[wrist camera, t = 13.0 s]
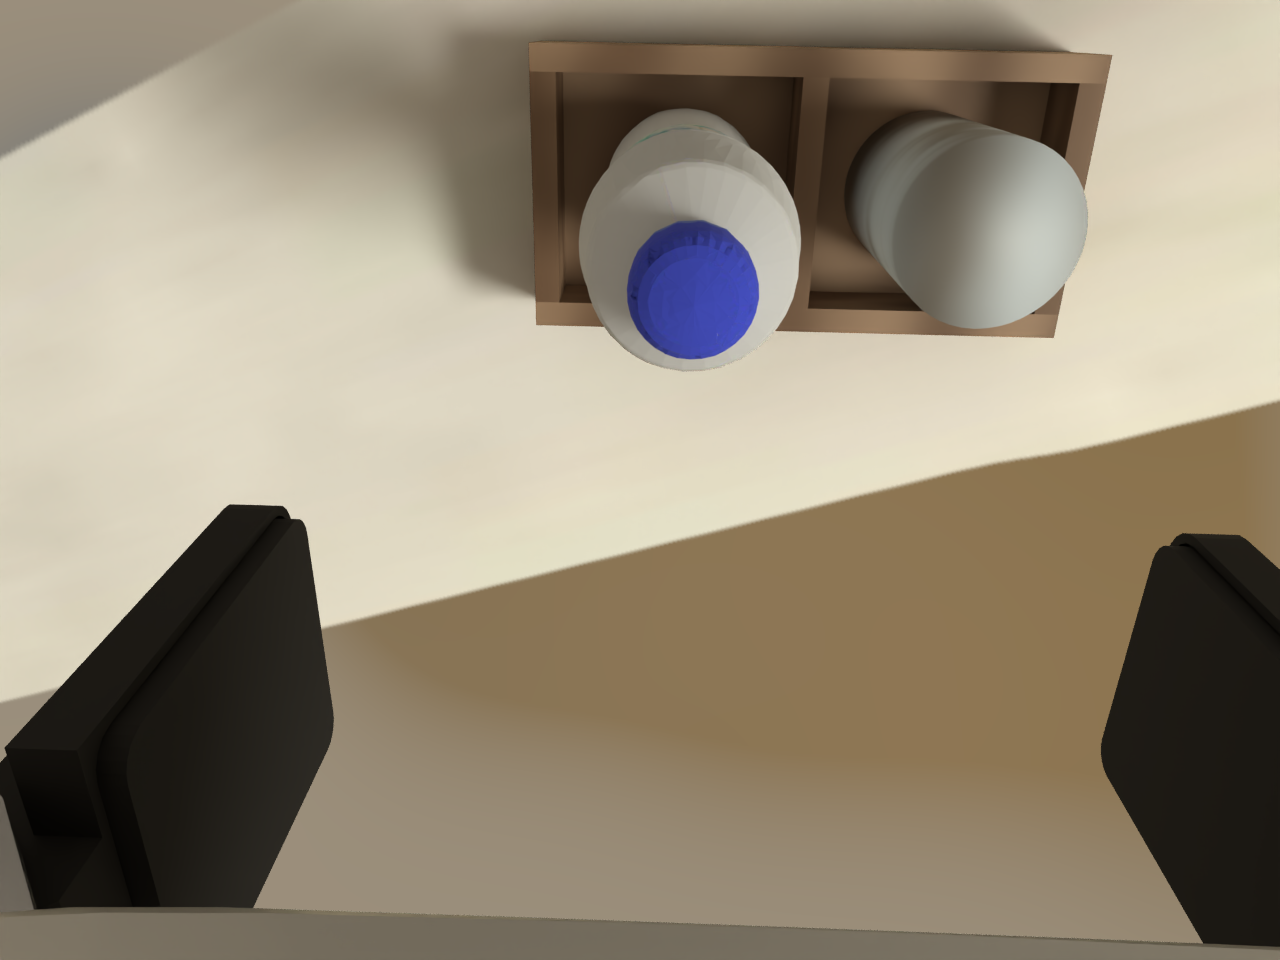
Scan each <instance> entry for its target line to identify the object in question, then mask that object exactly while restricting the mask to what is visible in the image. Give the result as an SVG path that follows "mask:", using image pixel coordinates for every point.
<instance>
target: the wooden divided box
mask: <svg viewBox="0 0 1280 960" xmlns="http://www.w3.org/2000/svg"><path fill="white" fill-rule="evenodd" d="M1111 59H1112V55H1104V54H1090V53H1075V52H1036V51H988V50H941V49H893V48H846V47H799V46H751V45H704V44H656V43H609V42H562V41H538V42H530V43H529V77H530V113H531V149H532V186H533V222H534V258H535V295H536V325H558V326H598V327H604V326H603V324H602V323H601V321H600V320H599V318H598V316H597V314H596V312H595V310H594V308H593V305H592V302H591V299H590V296H589V292H588V288H587V285H586V283H585V280H584V276H583V272H582V269H581V264H580V257H579V233H580V226H581V221H582V216H583V213H584V210H585V207H586V204H587V201H588V199H589V197H590V195H591V193H592V190H593V189H594V187H595V186H596V184H597V183H598V181H599V180H600V178H601V177H602V175H603V174H604V173H605V172H606V171H607V170H608V168H609V165H610V162H611V160H612V157H613V155H614V153H615V151H616V149H617V147H618V146H619V144H620V143H621V141H622V139H623V138H624V137H625V136H626V135H627V134H628V133H629V132H630V131H631V130H632V129H633V128H634V127H635V126H637V125H638V124H639V123H640V122H642V121H643V120H645V119H646V118H648V117H649V116H651V115H653V114H655V113H657V112H661V111H665V110H670V109H682V108H689V109H696V110H702V111H706V112H709V113H712V114H715V115H718V116H719V117H721V118H722V119H723V120H725V121H726V122H728V123H729V124H730V125H732V126H733V127H735V129H736V130H737V131H738V132H739V133H740V134H741V135H742V136H743V137H744V138H745V140H746V141H747V143H748V145H749V146H750V148H751V149H752V150H754V151H755V152H757V153H758V154H759V155H760V156H762V157H763V158H764V159H765V160H766V161H767V162H768V163H769V164H770V165H771V166H772V167H773V168H774V169H775V171H776V172H777V173H778V174H779V176H780V177H781V179H782V180H783V182H784V183H785V185H786V187H787V189H788V191H789V193H790V195H791V197H792V199H793V201H794V204H795V207H796V211H797V214H798V219H799V224H800V234H801V250H800V257H799V272H798V280H797V284H796V288H795V293H794V297H793V300H792V302H791V304H790V307H789V309H788V311H787V313H786V315H785V317H784V318H783V320H782V321H781V323H780V325H779V326H778V328H777V329H776V330H775V331H799V332H839V333H879V334H919V335H959V336H999V337H1039V338H1054V334H1055V329H1056V324H1057V319H1058V314H1059V310H1060V305H1061V300H1062V295H1063V290H1064V285H1065V282H1066V281H1067V279H1068V278H1069V277H1070V275H1071V274H1072V272H1073V270H1074V268H1075V266H1076V265H1077V263H1078V260H1079V258H1080V255H1081V253H1082V250H1083V247H1084V243H1085V240H1086V234H1087V227H1088V210H1087V202H1086V198H1085V194H1084V189H1085V184H1086V179H1087V175H1088V170H1089V165H1090V160H1091V155H1092V151H1093V146H1094V141H1095V136H1096V131H1097V126H1098V122H1099V117H1100V112H1101V107H1102V102H1103V98H1104V93H1105V88H1106V83H1107V78H1108V73H1109V69H1110V64H1111Z"/></svg>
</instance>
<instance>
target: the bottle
mask: <svg viewBox="0 0 1280 960" xmlns="http://www.w3.org/2000/svg"><path fill="white" fill-rule="evenodd" d="M800 250H801V234H800V224H799V219H798V214H797V211H796V207H795V204H794V201H793V199H792V197H791V195H790V193H789V191H788V189H787V187H786V185H785V183H784V182H783V180H782V179H781V177H780V176H779V174H778V173H777V172H776V171H775V169H774V168H773V167H772V166H771V165H770V164H769V163H768V162H767V161H766V160H765V159H764V158H763V157H762V156H760V155H759V154H758V153H757V152H755V151H754V150H752V149H751V148H750V146H749V145H748V143H747V141H746V140H745V138H744V137H743V136H742V135H741V134H740V133H739V132H738V131H737V130H736V129H735V127H733V126H732V125H730V124H729V123H728V122H726V121H725V120H723V119H722V118H721V117H719V116H718V115H715V114H712V113H709V112H706V111H702V110H696V109H689V108H682V109H670V110H665V111H661V112H657V113H655V114H653V115H651V116H649V117H648V118H646V119H645V120H643V121H642V122H640V123H639V124H638V125H637V126H635V127H634V128H633V129H632V130H631V131H630V132H629V133H628V134H627V135H626V136H625V137H624V138H623V139H622V141H621V143H620V144H619V146H618V147H617V149H616V151H615V153H614V155H613V157H612V160H611V162H610V165H609V168H608V170H607V171H606V172H605V173H604V174H603V175H602V177H601V178H600V180H599V181H598V183H597V184H596V186H595V187H594V189H593V190H592V193H591V195H590V197H589V199H588V201H587V204H586V207H585V210H584V213H583V216H582V221H581V226H580V233H579V257H580V264H581V269H582V272H583V276H584V280H585V283H586V285H587V288H588V292H589V296H590V299H591V302H592V305H593V308H594V310H595V312H596V314H597V316H598V318H599V320H600V321H601V323H602V324H603V326H604V327H605V328H606V330H607V331H608V333H609V334H610V335H611V336H612V337H613V338H614V339H615V340H616V341H617V342H618V343H619V344H620V345H621V346H622V347H623V348H624V349H626V350H627V351H629V352H630V353H632V354H633V355H634V356H636V357H638V358H640V359H641V360H643V361H645V362H647V363H650V364H653V365H656V366H659V367H662V368H666V369H672V370H678V371H705V370H710V369H715V368H720V367H723V366H725V365H728V364H730V363H733V362H735V361H738V360H740V359H742V358H743V357H745V356H746V355H748V354H749V353H751V352H752V351H754V350H756V349H757V348H758V347H759V346H760V345H762V344H763V343H764V342H765V341H766V340H767V339H768V338H769V337H770V336H771V335H772V334H773V332H774V331H775V330H776V329H777V328H778V326H779V325H780V323H781V321H782V320H783V318H784V317H785V315H786V313H787V311H788V309H789V307H790V304H791V302H792V300H793V297H794V293H795V288H796V284H797V280H798V272H799V257H800Z"/></svg>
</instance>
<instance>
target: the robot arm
mask: <svg viewBox="0 0 1280 960" xmlns="http://www.w3.org/2000/svg"><path fill="white" fill-rule="evenodd" d="M333 722H334V717H333V707H332V700H331V694H330V687H329V681H328V674H327V666H326V660H325V653H324V646H323V639H322V632H321V625H320V618H319V611H318V605H317V598H316V591H315V584H314V577H313V570H312V564H311V557H310V550H309V543H308V536H307V531H306V527H305V525H304V523H303V521H301V520H300V519H291V518H290V515H289V513H288V511H287V509H285V508H284V507H283V506H265V505H228V506H227V507H226V508H224V509H223V510H222V511H221V513H220V514H219V515H218V516H217V517H216V518H215V519H214V520H213V521H212V522H211V523H210V525H209V526H208V527H207V528H206V529H205V530H204V531H203V532H202V533H201V534H200V535H199V537H198V538H197V539H196V540H195V541H194V542H193V543H192V544H191V545H190V546H189V547H188V549H187V550H186V551H185V552H184V553H183V554H182V555H181V556H180V557H179V558H178V559H177V561H176V562H175V563H174V564H173V565H172V566H171V567H170V568H169V569H168V570H167V571H166V573H165V574H164V575H163V576H162V577H161V578H160V579H159V580H158V581H157V582H156V583H155V584H154V586H153V587H152V588H151V589H150V590H149V591H148V592H147V593H146V594H145V595H144V596H143V598H142V599H141V600H140V601H139V602H138V603H137V604H136V605H135V606H134V607H133V608H132V610H131V611H130V612H129V613H128V614H127V615H126V616H125V617H124V618H123V619H122V620H121V622H120V623H119V624H118V625H117V626H116V627H115V628H114V629H113V630H112V631H111V632H110V634H109V635H108V636H107V637H106V638H105V639H104V640H103V641H102V642H101V643H100V644H99V646H98V647H97V648H96V649H95V650H94V651H93V652H92V653H91V654H90V655H89V656H88V657H87V659H86V660H85V661H84V662H83V663H82V664H81V665H80V666H79V667H78V668H77V669H76V671H75V672H74V673H73V674H72V675H71V676H70V677H69V678H68V679H67V680H66V681H65V683H64V684H63V685H62V686H61V687H60V688H59V689H58V690H57V691H56V692H55V693H54V695H53V696H52V697H51V698H50V699H49V700H48V701H47V702H46V703H45V704H44V706H43V707H42V708H41V709H40V710H39V711H38V712H37V713H36V714H35V715H34V716H33V718H32V719H31V720H30V721H29V722H28V723H27V724H26V725H25V726H24V727H23V728H22V730H21V731H20V732H19V733H18V734H17V735H16V736H15V737H14V738H13V739H12V740H11V741H10V743H9V744H8V745H7V746H6V747H5V751H6V754H7V756H6V757H5V758H4V759H3V760H2V761H1V762H0V960H1280V569H1278V568H1277V567H1276V566H1275V565H1274V564H1273V563H1272V562H1270V560H1269V559H1267V558H1266V557H1265V556H1264V555H1263V554H1262V553H1261V552H1260V551H1258V550H1257V549H1256V548H1255V547H1254V546H1253V545H1252V544H1251V543H1250V542H1249V541H1247V540H1246V539H1245V538H1243V537H1241V536H1240V535H1219V534H1217V535H1216V534H1186V533H1185V534H1184V533H1182V534H1181V535H1179V536H1177V537H1176V538H1175V539H1174V540H1173V542H1172V543H1171V545H1170V546H1163V547H1161V548H1159V550H1158V551H1157V552H1156V554H1155V556H1154V559H1153V561H1152V565H1151V568H1150V572H1149V575H1148V579H1147V583H1146V586H1145V589H1144V593H1143V597H1142V600H1141V604H1140V607H1139V611H1138V614H1137V618H1136V621H1135V625H1134V628H1133V632H1132V635H1131V639H1130V642H1129V646H1128V650H1127V653H1126V657H1125V661H1124V664H1123V668H1122V672H1121V674H1120V678H1119V681H1118V685H1117V688H1116V692H1115V695H1114V699H1113V703H1112V706H1111V710H1110V714H1109V717H1108V720H1107V724H1106V727H1105V731H1104V735H1103V738H1102V743H1101V757H1102V763H1103V767H1104V770H1105V773H1106V775H1107V777H1108V779H1109V781H1110V782H1111V784H1112V785H1113V787H1114V789H1115V791H1116V793H1117V794H1118V796H1119V798H1120V800H1121V801H1122V803H1123V805H1124V807H1125V808H1126V810H1127V812H1128V813H1129V815H1130V817H1131V819H1132V820H1133V822H1134V824H1135V826H1136V827H1137V829H1138V831H1139V832H1140V834H1141V836H1142V838H1143V839H1144V841H1145V843H1146V845H1147V846H1148V848H1149V850H1150V852H1151V853H1152V855H1153V857H1154V859H1155V860H1156V862H1157V864H1158V866H1159V867H1160V869H1161V871H1162V873H1163V874H1164V876H1165V878H1166V879H1167V881H1168V883H1169V885H1170V886H1171V888H1172V890H1173V891H1174V893H1175V895H1176V897H1177V899H1178V900H1179V902H1180V904H1181V905H1182V907H1183V909H1184V911H1185V912H1186V914H1187V916H1188V918H1189V919H1190V921H1191V923H1192V924H1193V926H1194V928H1195V930H1196V932H1197V933H1198V935H1199V937H1200V938H1201V940H1202V942H1203V944H1199V943H1177V942H1154V941H1153V942H1152V941H1132V940H1109V939H1083V938H1082V939H1081V938H1057V937H1032V936H1006V935H980V934H954V933H929V932H904V931H878V930H852V929H826V928H800V927H774V926H747V925H720V924H719V925H718V924H694V923H667V922H666V923H665V922H640V921H614V920H587V919H560V918H558V919H557V918H532V917H504V916H503V917H502V916H474V915H443V914H411V913H382V912H351V911H321V910H291V909H259V908H253V907H254V905H255V903H256V900H257V898H258V896H259V894H260V892H261V890H262V888H263V885H264V884H265V881H266V879H267V877H268V875H269V873H270V871H271V869H272V866H273V864H274V862H275V860H276V858H277V856H278V854H279V851H280V850H281V847H282V845H283V843H284V841H285V839H286V837H287V835H288V833H289V831H290V828H291V826H292V824H293V822H294V820H295V818H296V816H297V813H298V811H299V809H300V807H301V805H302V803H303V801H304V799H305V797H306V794H307V792H308V790H309V788H310V786H311V784H312V782H313V780H314V777H315V775H316V773H317V771H318V769H319V767H320V765H321V763H322V761H323V759H324V756H325V754H326V752H327V750H328V748H329V745H330V742H331V738H332V733H333Z"/></svg>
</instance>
